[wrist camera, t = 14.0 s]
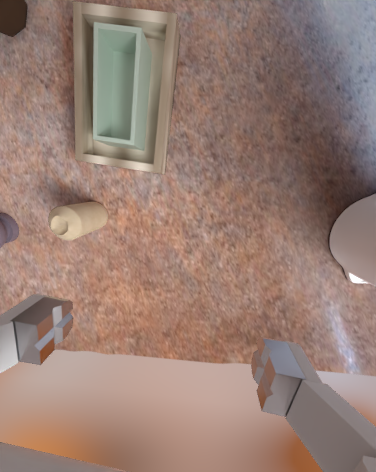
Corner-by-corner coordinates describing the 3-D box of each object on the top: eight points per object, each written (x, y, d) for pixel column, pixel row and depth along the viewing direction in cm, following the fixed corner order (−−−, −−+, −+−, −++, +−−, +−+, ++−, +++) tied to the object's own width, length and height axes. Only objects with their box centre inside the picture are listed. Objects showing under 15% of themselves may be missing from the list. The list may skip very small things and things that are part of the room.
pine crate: (180, 36, 29) (176, 13, 25) (165, 174, 34) (159, 173, 30) (90, 25, 29) (72, 1, 25) (89, 162, 35) (75, 160, 31)
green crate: (152, 53, 29) (141, 27, 24) (144, 151, 33) (134, 145, 28) (112, 48, 29) (93, 21, 24) (109, 145, 33) (92, 139, 28)
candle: (83, 198, 37) (40, 203, 27) (110, 205, 37) (76, 213, 27) (81, 224, 38) (39, 237, 29) (106, 231, 38) (73, 247, 29)
